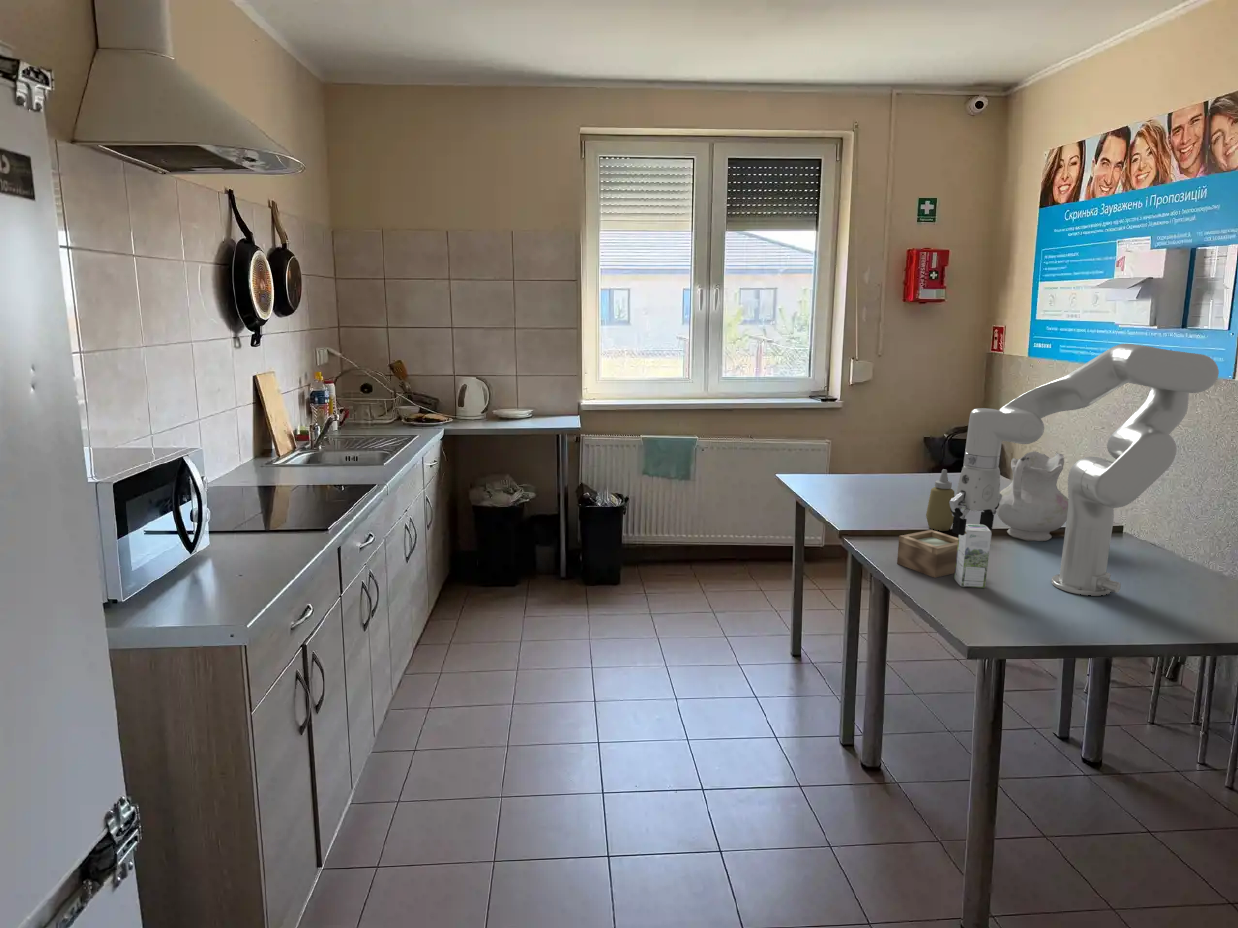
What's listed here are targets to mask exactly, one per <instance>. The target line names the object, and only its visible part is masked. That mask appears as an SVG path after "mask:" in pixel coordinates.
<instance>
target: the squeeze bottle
mask: <svg viewBox="0 0 1238 928" xmlns="http://www.w3.org/2000/svg"><path fill="white" fill-rule="evenodd" d="M952 485H953V482H951V481H950V480H949V476H948V470H947V469H944V468H943V469H942V470H941V473H940V476H939V479H937V480H935V482H934V487H932V488H931V489H930V492H929V498H928V503H927V507H926V508H927V509H926V514H925V517H926V518H925V519H926V521H927V525H928V529H930V528H931V529H930V530H933V529H934V531H938V530H939V531H938V532H945V531H946V532H947V531H950V530H951V529H952V526H953V518H954V516H952V512H951V510H950V509H951V507H950V503H949V501H950V500H951V499H952V498H953V497H955V490H954V489H952ZM949 529H950V530H949Z"/></svg>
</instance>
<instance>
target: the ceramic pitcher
mask: <svg viewBox="0 0 1238 928" xmlns="http://www.w3.org/2000/svg"><path fill="white" fill-rule="evenodd" d="M1010 461H1011V462H1010V468H1011V472H1012V482H1010V484H1009V485H1008V486H1007V487H1004V488H1003V489H1002V490H1000V494H1001V495H1002V498H1001V501H1000V503H999V506H998V508H997V509H996V515H997V517H998V518H999V520H1000V521H1001V522H1002V523H1003V524H1004V525H1006V526H1008V527H1010V528H1009V529H1008V530H1006V532H1007V534H1008V535H1009V536H1011V537H1012V538H1016V539H1019V540H1023V541H1038V542H1046V541H1049V540H1050V539H1052V537H1053V535H1052V534H1050V532H1053V531H1056V530H1058V529H1060V528H1061V527H1063V526H1064V524H1066V521H1067V513H1068V497H1067V496H1066V495H1065V494H1064V493H1063V492H1061V491H1060V489H1058V486H1057V484H1058V480H1059V477H1060V475H1061V473H1062V472H1063V470H1064V465H1065V456H1064V454H1062V453H1059V452H1056V453H1055V456H1053V457H1049V456H1048V455H1046V454H1045V453H1041V452H1039V451H1035V450H1033V451H1030V452H1027V453H1026V454H1024V455H1023V456H1022V457H1020V458H1019V459H1018V458H1014V457H1012V459H1011V460H1010Z"/></svg>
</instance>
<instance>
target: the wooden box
mask: <svg viewBox="0 0 1238 928" xmlns="http://www.w3.org/2000/svg"><path fill="white" fill-rule="evenodd" d="M957 547H958V537H956V536H952V535H949V534H947V533H943V532H941V531H938V530H933V529H928V530H923V531H918V532H913V533H912V532H911V533H908V534H907V533H906V534H904V535H903V534H902V535H899V536H898V548H897V558H896V559H897V560H896V564H897V565H900V566H902V567H905V568H908V569H910V570H912V571H916V572H918V573H921V574H924V575H926V576H928V577H931V578H940V577H944V576H948V575H952V574H953V575H954V574H955V565H956V556H957Z"/></svg>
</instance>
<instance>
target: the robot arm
mask: <svg viewBox="0 0 1238 928" xmlns="http://www.w3.org/2000/svg"><path fill="white" fill-rule="evenodd" d="M1219 373H1220V371H1219V367H1218V364H1217V363H1216V362H1215V360H1214V359H1212V358H1211V357H1210V356H1208V355H1205V354H1202V353H1201V354H1200V353H1192V352H1187V351H1186V352H1185V351H1177V350H1171V349H1170V350H1169V349H1164V348H1160V347H1153V346H1148V345H1141V344H1140V345H1139V344H1135V343H1121V344H1117V345H1114V346H1112V347H1110V348H1108V349H1107V350H1104V352H1102V353H1100V354H1099V355H1097V356H1096V357H1094V358H1092V359H1090V360H1089V361H1087V362H1086V363H1084V364H1082V365H1081V366H1079V367H1077V368H1076V369H1075V370H1073V371H1071V372H1069V373H1068V374H1066V375H1063V376H1061V377H1060V378H1057V379H1055V380H1052V381H1049V382H1047V383H1045V384H1042V385H1040V386H1037V387H1035V388H1033V389H1031V390H1028V391H1027V392H1024V393H1022V394H1021V395H1019V396H1017V397H1016V398H1014V399H1012V400H1011V401H1009V402H1008V403H1006V404H1005V405H1003V406H1002V407H1001V408H999V409H995V408H985V407H983V408H982V407H981V408H980V407H979V408H978V407H977V408H973V409H972V410H971V412H970V413H969V418H968V419H969V420H968V427H967V436H966V441H965V442H966V443H965V451H964V457H963V466H962V467H961V472H960V474H959V475H960V476H959V480H958V485H957V489H956V495H954V497H953V498H952V499H951V500H950V501H949V503H950V507H951V509H950V510H951V512H952V516H954V518H953V524H952V526H951V532H952V533H953V534H956V535H958V536H959V535H965V528H966V524H967V522H968V521H967V518H966V517H967V515H968V514H969V512H970V511H971V512H980V517H979V524H980V525H985V526H987V527H988V528H989V530H990V531H991V532H992V530H993V528H994V527H993V524H994V519H995V515H997V512H996V509H997V508H998V506H999V503H1000V501H1001V498H1002V495H1001V494H1000V491H1001V471H1000V467H999V465H1000V457H1001V451H1002V449H1001V448H1002V443H1003V442H1009V443H1014V444H1020V445H1029V444H1032V443H1036V442H1038V440H1040V439H1041V438H1042V436H1043V435H1044V433H1045V432H1044V431H1045V424H1044V422H1043V420H1042V419H1043V418H1045V417H1048V416H1049V415H1052V414H1056V413H1059V412H1068V411H1076V410H1080V409H1084V408H1087V407H1090V406H1091V405H1093V404H1094V403H1097V401H1100V400H1101V399H1102V398H1104V397H1106V396H1108V395H1109V394H1111V393H1113V392H1114V391H1116V390H1118V389H1120V388H1121V387H1123V386H1124V385H1126V384H1128V383H1129V384H1133V385H1137V386H1143V387H1147V388H1149V389H1148V394H1147V396H1146V398H1145V400H1144V402H1143V403H1142V404H1141V405H1140V406H1139V407H1138V408H1137V409H1136V410H1135V411H1134V412H1133V413H1132V414H1131V415H1130V417H1128V418H1127V419H1126V420H1125V421H1124V422H1123V423H1122V424H1121V425H1119V426H1118V428H1117V429H1116V430H1115V431H1113V433H1112V434H1111V435H1110V437H1109V438H1108V440H1107V442H1106V449H1107V452H1108V454H1109V455H1111V457H1112V458H1113V459H1115V461H1111V460H1107V459H1106V458H1103V457H1099V456H1086V457H1081V458H1080V459H1079V460H1077V461H1076V462H1074V464H1073V465H1072V466H1071V467H1070V469H1069V472H1068V474H1067V475H1068V476H1067V494H1068V495H1067V496H1068V497H1067V498H1068V513H1067V521H1066V522H1065V528H1064V529H1065V530H1064V538H1063V546H1062V551H1061V552H1062V554H1061V559H1060V570H1059V573H1058V574H1055V575H1053V576H1051V580H1050V582H1051V584H1052V585H1053V586H1054V587H1055V588H1057V589H1059V590H1062V591H1064V592H1067V593H1070V594H1071V593H1072V594H1075V595H1080V594H1081V595H1082V596H1088V595H1091V596H1090V597H1100V596H1101V595H1103V596H1107V595H1109V594H1111V593H1112V592H1113V593H1116V594H1117V593H1119V592H1120V590H1121V586H1122V585H1121V582H1119V581H1116V580H1112V579H1111V575H1112V574H1111V572H1107V570H1108V569H1107V568H1108V561H1109V553H1110V548H1111V540H1112V532H1113V526H1114V518H1115V509H1119V508H1124V507H1125V506H1128V505H1130V504H1131V503H1133V502H1134V501H1135V500H1137V499H1138V498H1139V497H1140V496H1141V495H1142V494H1143V493H1144V492H1145V491H1147V489H1149V488H1150V487H1151V486H1152V485H1153V484H1155V482H1156V481H1157V480H1158V479H1159V478H1160V477H1162V476H1163V474H1164V473H1165V472H1166V471H1167V470H1168V469H1170V467H1171V465H1172V464H1173V463H1174V461H1175V459H1176V455H1177V451H1178V449H1177V443H1176V440H1175V439H1174V437H1173V436H1172V435H1171V434H1172V432H1173V431H1174V430H1175V429H1176V428H1177V427H1178V426H1179V425H1180V424H1181V423H1182V421H1184V419H1185V416H1186V415H1187V412H1188V408H1189V407H1188V406H1189V397H1190V396H1189V395H1190V394H1198V393H1202V392H1203V393H1204V392H1205V391H1207V390H1209V389H1211V388H1212V387H1213V386H1214V385H1215V383H1216V382H1217V380H1218V378H1219ZM1110 592H1111V593H1110ZM1106 594H1107V595H1106ZM1081 595H1080V596H1081ZM1101 597H1102V596H1101Z"/></svg>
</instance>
